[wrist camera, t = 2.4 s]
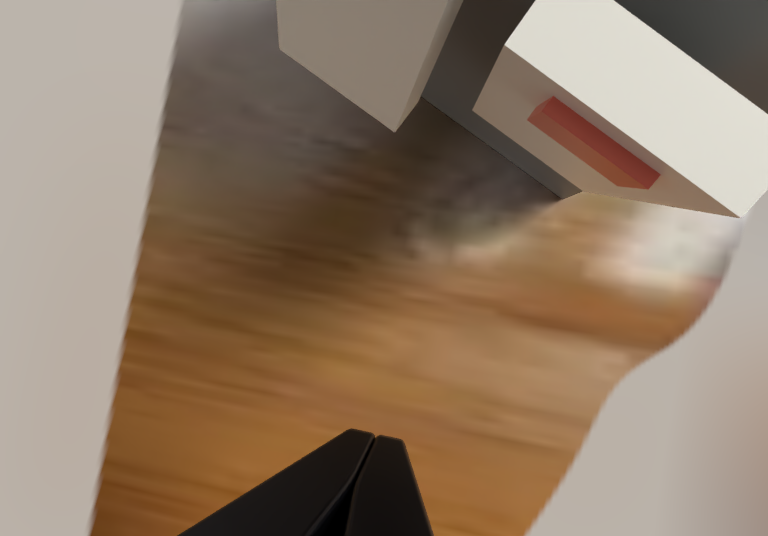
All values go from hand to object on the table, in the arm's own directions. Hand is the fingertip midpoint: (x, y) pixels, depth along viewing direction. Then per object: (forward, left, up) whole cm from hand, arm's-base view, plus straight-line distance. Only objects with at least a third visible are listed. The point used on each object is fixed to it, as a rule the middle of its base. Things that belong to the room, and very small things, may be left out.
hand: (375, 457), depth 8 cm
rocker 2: (+8, 0, -7) cm, 11 cm away
